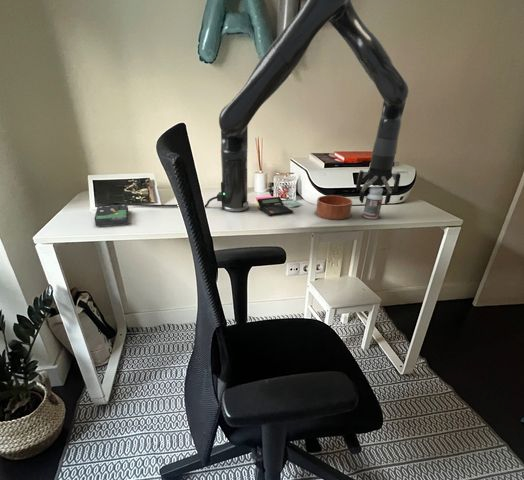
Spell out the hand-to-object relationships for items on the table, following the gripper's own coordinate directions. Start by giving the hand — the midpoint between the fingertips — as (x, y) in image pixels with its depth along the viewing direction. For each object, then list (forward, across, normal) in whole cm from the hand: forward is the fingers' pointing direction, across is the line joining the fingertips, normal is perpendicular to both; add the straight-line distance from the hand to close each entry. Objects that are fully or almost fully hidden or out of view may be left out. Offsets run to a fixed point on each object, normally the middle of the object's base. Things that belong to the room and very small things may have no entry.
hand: (373, 203), depth 132 cm
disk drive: (+5, +90, +22) cm, 93 cm away
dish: (+5, +14, 0) cm, 15 cm away
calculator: (+5, +36, 0) cm, 36 cm away
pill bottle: (+5, 0, 0) cm, 5 cm away
